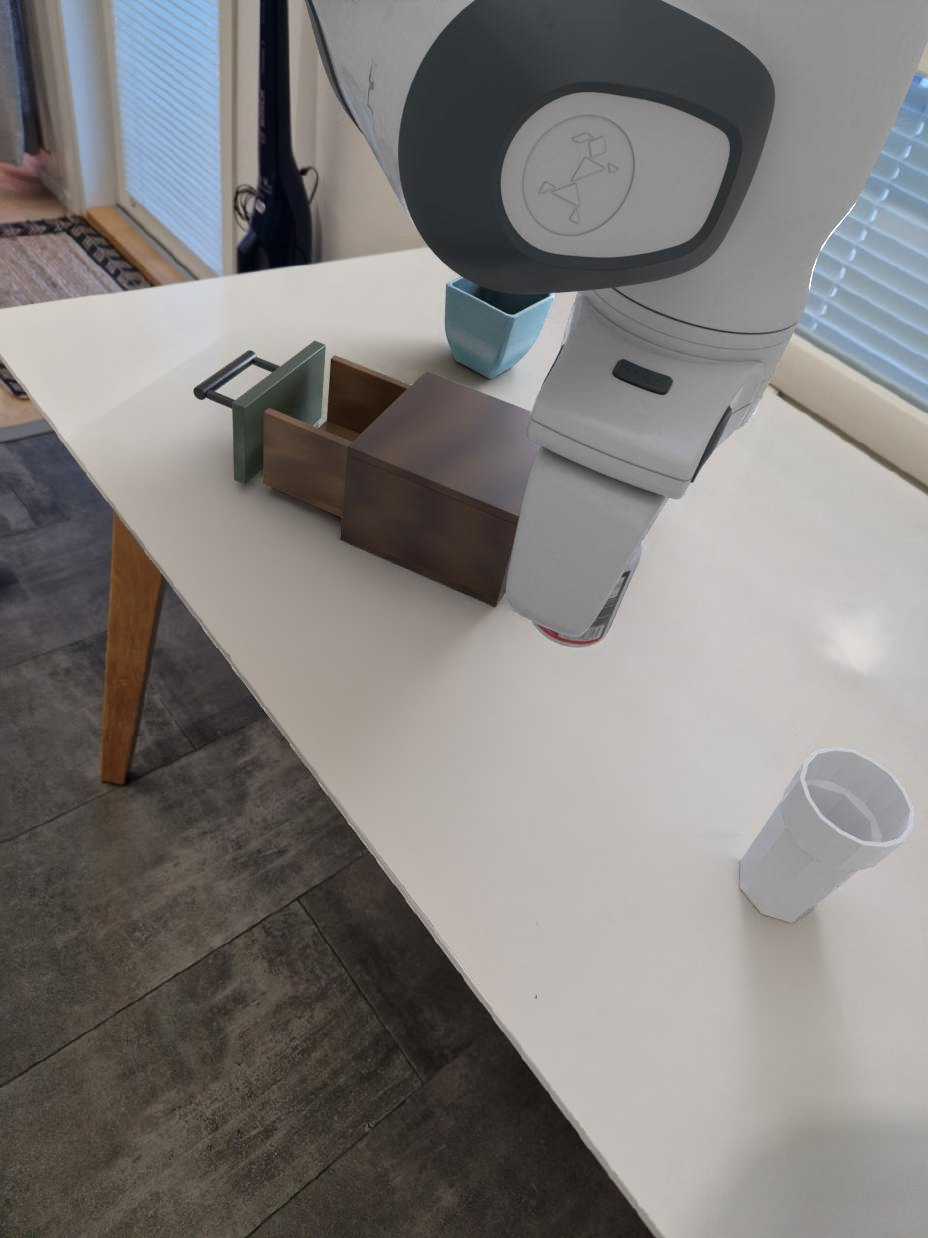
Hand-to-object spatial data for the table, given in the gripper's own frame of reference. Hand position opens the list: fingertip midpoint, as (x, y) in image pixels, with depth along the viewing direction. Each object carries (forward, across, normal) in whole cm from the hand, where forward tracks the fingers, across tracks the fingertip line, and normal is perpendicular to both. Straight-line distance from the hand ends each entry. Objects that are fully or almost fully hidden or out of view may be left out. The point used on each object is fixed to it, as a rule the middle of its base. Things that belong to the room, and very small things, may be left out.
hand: (581, 579), depth 46 cm
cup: (+19, -1, +19) cm, 27 cm away
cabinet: (+19, -22, -14) cm, 32 cm away
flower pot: (+19, -50, -23) cm, 58 cm away
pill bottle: (+3, 0, 0) cm, 3 cm away
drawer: (+18, -21, -29) cm, 40 cm away
